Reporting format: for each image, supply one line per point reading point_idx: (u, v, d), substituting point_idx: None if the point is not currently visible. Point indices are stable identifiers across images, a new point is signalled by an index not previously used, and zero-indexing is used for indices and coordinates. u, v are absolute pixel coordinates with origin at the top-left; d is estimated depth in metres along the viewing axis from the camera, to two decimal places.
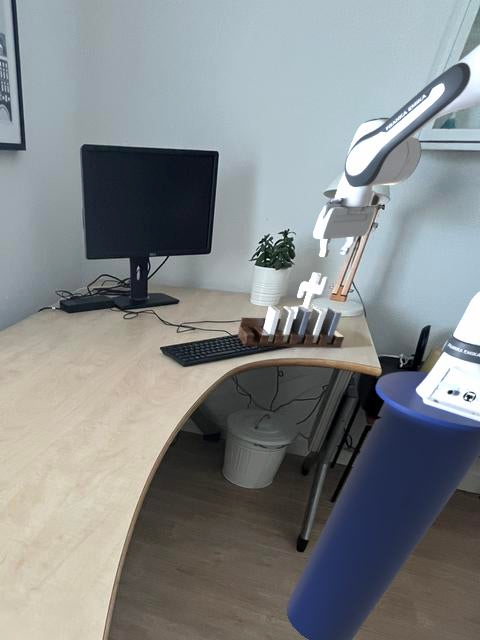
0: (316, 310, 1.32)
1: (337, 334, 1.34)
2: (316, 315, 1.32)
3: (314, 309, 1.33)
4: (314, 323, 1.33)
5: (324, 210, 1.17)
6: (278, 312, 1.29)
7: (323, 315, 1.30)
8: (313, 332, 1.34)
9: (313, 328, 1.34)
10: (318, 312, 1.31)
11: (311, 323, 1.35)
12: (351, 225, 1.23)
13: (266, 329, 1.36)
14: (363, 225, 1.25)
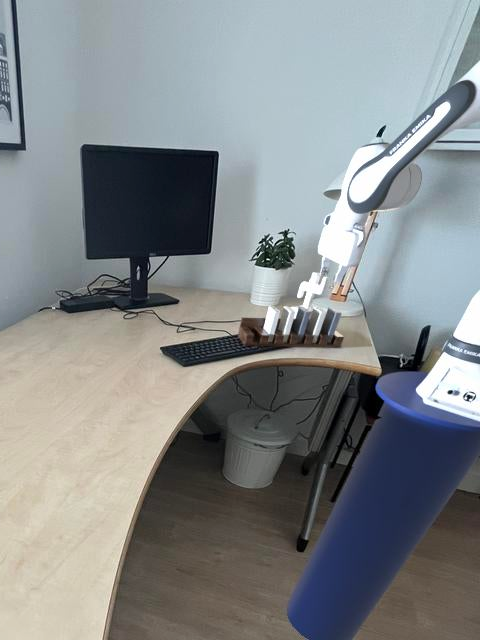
0: (316, 310, 1.32)
1: (337, 334, 1.34)
2: (316, 315, 1.32)
3: (314, 309, 1.33)
4: (314, 323, 1.33)
5: (363, 238, 1.11)
6: (278, 312, 1.29)
7: (323, 315, 1.30)
8: (313, 332, 1.34)
9: (313, 328, 1.34)
10: (318, 312, 1.31)
11: (311, 323, 1.35)
12: None
13: (266, 329, 1.36)
14: None
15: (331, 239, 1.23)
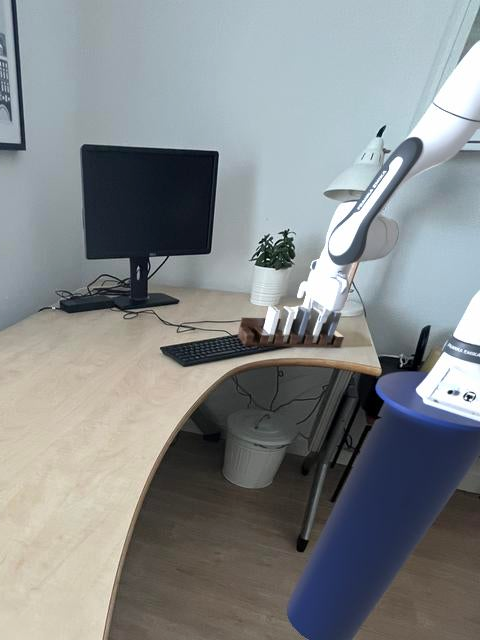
0: (316, 310, 1.32)
1: (337, 334, 1.34)
2: (316, 315, 1.32)
3: (314, 309, 1.33)
4: (314, 323, 1.33)
5: (346, 286, 1.18)
6: (278, 312, 1.29)
7: None
8: (313, 332, 1.34)
9: (313, 328, 1.33)
10: (318, 312, 1.31)
11: (311, 323, 1.35)
12: None
13: (266, 329, 1.36)
14: None
15: (318, 283, 1.30)
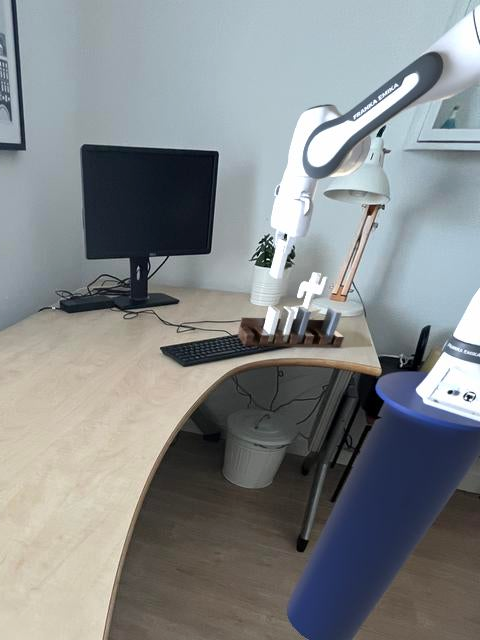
0: (281, 241, 1.21)
1: (337, 334, 1.34)
2: (280, 247, 1.21)
3: (279, 241, 1.22)
4: (279, 256, 1.22)
5: (309, 206, 1.07)
6: (278, 312, 1.29)
7: None
8: (278, 266, 1.22)
9: (278, 262, 1.22)
10: (282, 243, 1.20)
11: (276, 257, 1.24)
12: None
13: (266, 329, 1.36)
14: None
15: (282, 210, 1.19)
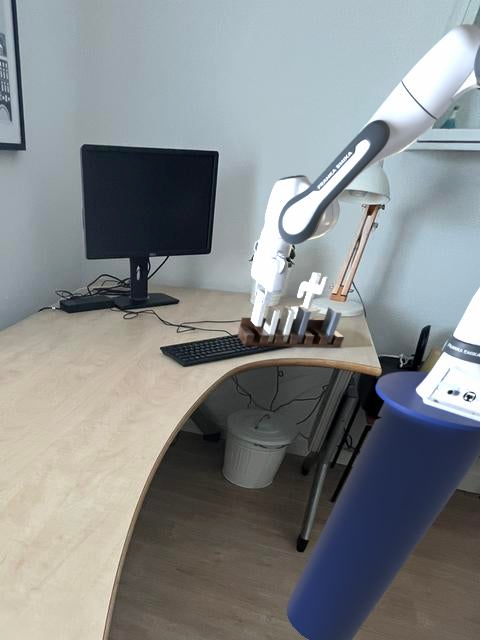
0: (260, 292, 1.29)
1: (337, 334, 1.34)
2: (260, 297, 1.29)
3: (258, 292, 1.30)
4: (259, 306, 1.30)
5: (284, 266, 1.15)
6: (278, 312, 1.29)
7: None
8: (257, 315, 1.31)
9: (258, 311, 1.30)
10: (261, 295, 1.28)
11: (256, 306, 1.32)
12: None
13: (266, 329, 1.36)
14: None
15: (261, 264, 1.27)
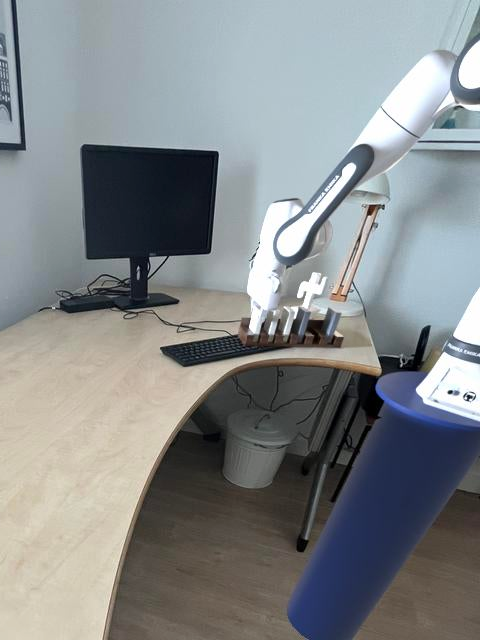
0: (256, 309, 1.32)
1: (337, 334, 1.34)
2: (255, 314, 1.32)
3: (254, 308, 1.33)
4: (254, 322, 1.33)
5: (278, 285, 1.18)
6: (278, 312, 1.29)
7: None
8: (254, 331, 1.34)
9: (254, 327, 1.33)
10: (257, 311, 1.31)
11: (252, 322, 1.35)
12: None
13: (266, 329, 1.36)
14: None
15: (256, 282, 1.30)
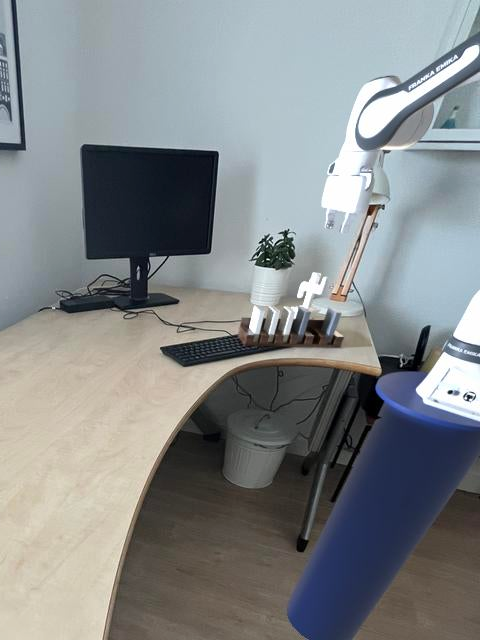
0: (256, 309, 1.32)
1: (337, 334, 1.34)
2: (256, 314, 1.32)
3: (254, 308, 1.33)
4: (255, 322, 1.33)
5: (371, 180, 1.04)
6: (278, 312, 1.29)
7: (262, 314, 1.30)
8: (254, 331, 1.34)
9: (254, 327, 1.33)
10: (257, 311, 1.31)
11: (252, 322, 1.35)
12: None
13: (266, 329, 1.36)
14: None
15: (336, 188, 1.16)
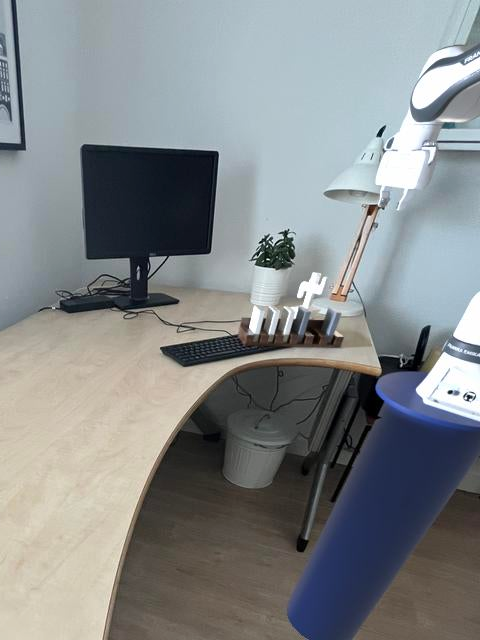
0: (256, 309, 1.32)
1: (337, 334, 1.34)
2: (256, 314, 1.32)
3: (254, 308, 1.33)
4: (255, 322, 1.33)
5: (435, 154, 1.02)
6: (278, 312, 1.29)
7: (262, 314, 1.30)
8: (254, 331, 1.34)
9: (254, 327, 1.33)
10: (257, 311, 1.31)
11: (252, 322, 1.35)
12: None
13: (266, 329, 1.36)
14: None
15: (394, 164, 1.14)
